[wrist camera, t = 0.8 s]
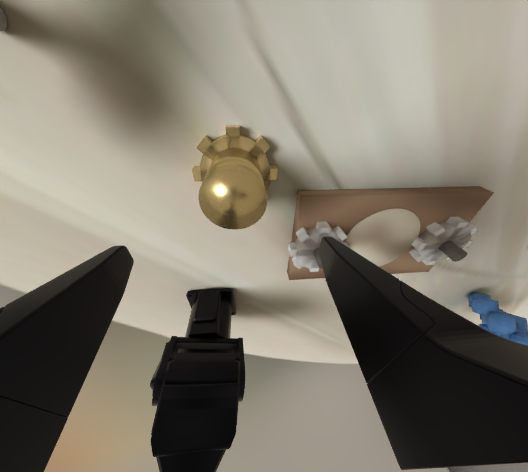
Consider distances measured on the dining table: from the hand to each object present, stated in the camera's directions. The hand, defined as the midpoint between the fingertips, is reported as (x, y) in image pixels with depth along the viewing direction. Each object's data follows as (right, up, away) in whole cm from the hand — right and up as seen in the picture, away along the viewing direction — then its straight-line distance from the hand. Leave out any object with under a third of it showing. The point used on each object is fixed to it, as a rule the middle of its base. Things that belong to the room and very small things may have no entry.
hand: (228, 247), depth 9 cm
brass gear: (-1, +6, +8) cm, 10 cm away
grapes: (+40, -11, +26) cm, 49 cm away
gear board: (+15, +1, +14) cm, 21 cm away
